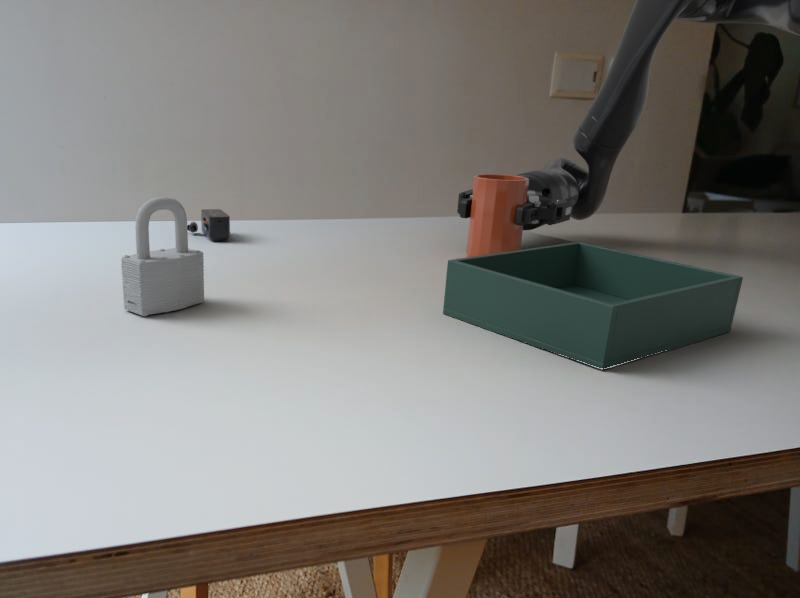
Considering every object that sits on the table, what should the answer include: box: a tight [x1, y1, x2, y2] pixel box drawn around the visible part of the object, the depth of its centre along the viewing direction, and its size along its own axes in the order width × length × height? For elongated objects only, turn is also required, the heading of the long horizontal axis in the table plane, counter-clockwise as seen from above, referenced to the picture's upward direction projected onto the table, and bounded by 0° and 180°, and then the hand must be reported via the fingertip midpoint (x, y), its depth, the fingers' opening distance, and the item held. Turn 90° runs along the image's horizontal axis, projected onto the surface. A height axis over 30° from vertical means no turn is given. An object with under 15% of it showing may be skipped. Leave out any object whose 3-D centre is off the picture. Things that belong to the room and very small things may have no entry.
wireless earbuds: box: [187, 208, 231, 242], centre depth 99 cm, size 5×7×3 cm, turn 19°
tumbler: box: [465, 173, 529, 258], centre depth 91 cm, size 6×6×10 cm
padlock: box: [120, 196, 205, 317], centre depth 66 cm, size 7×4×10 cm, turn 138°
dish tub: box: [442, 241, 744, 369], centre depth 67 cm, size 19×17×5 cm
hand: (490, 212), depth 89 cm, fingers closed on tumbler, 6 cm apart
